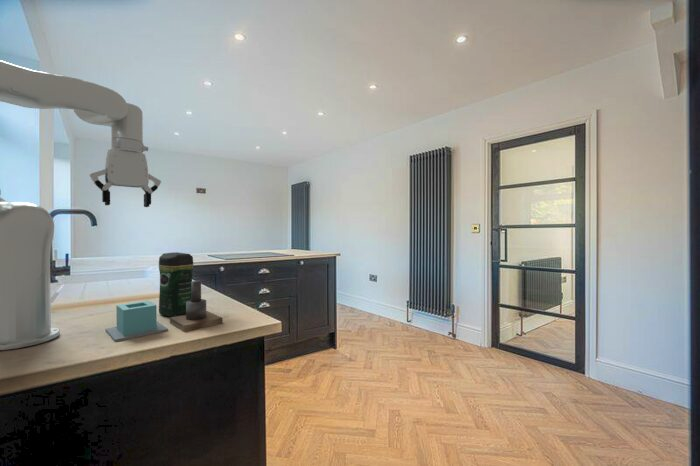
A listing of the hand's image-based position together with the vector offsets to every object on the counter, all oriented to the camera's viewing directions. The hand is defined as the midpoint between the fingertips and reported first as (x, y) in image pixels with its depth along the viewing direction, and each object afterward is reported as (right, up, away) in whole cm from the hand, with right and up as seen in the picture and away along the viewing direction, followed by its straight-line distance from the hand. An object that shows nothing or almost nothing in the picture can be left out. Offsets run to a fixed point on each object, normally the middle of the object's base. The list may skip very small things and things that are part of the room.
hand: (127, 206), depth 94 cm
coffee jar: (+13, -33, +3) cm, 35 cm away
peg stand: (+23, -33, -6) cm, 41 cm away
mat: (+12, -33, -13) cm, 37 cm away
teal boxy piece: (+11, -32, -13) cm, 37 cm away
